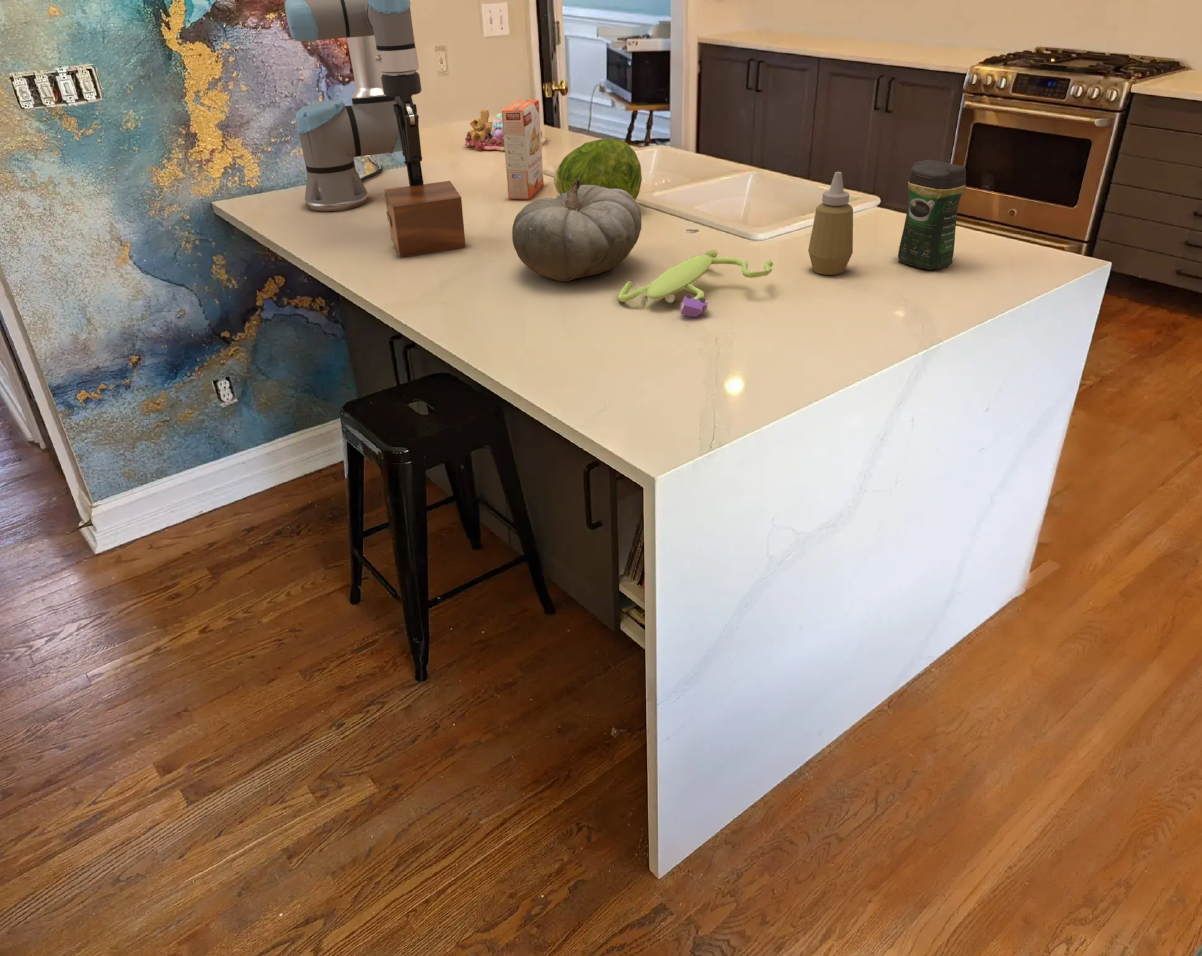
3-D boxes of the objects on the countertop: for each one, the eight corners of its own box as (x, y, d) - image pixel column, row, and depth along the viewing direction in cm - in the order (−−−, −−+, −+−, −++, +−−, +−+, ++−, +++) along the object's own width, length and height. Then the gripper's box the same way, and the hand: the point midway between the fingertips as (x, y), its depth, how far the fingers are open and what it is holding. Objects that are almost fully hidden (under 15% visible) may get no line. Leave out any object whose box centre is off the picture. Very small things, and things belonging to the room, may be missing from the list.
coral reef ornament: (455, 152, 265) (451, 119, 260) (477, 135, 285) (474, 104, 280) (536, 151, 261) (534, 118, 256) (553, 134, 281) (551, 103, 276)
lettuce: (573, 227, 218) (599, 166, 218) (634, 230, 200) (663, 164, 201) (523, 191, 207) (551, 128, 207) (583, 191, 189) (613, 121, 190)
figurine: (786, 289, 160) (788, 259, 157) (675, 329, 146) (675, 297, 143) (715, 264, 172) (715, 236, 169) (606, 299, 159) (605, 269, 156)
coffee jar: (959, 265, 167) (977, 163, 157) (931, 274, 163) (948, 170, 153) (917, 252, 174) (932, 154, 164) (889, 261, 170) (903, 161, 160)
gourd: (674, 252, 171) (657, 163, 162) (585, 310, 159) (560, 217, 149) (587, 240, 188) (566, 158, 178) (500, 291, 176) (472, 207, 166)
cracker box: (531, 200, 217) (524, 109, 205) (507, 200, 218) (499, 109, 207) (545, 185, 228) (539, 98, 217) (523, 185, 229) (515, 98, 218)
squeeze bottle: (825, 281, 163) (835, 180, 153) (797, 268, 169) (805, 171, 159) (859, 272, 166) (871, 173, 156) (831, 260, 172) (841, 164, 162)
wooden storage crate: (390, 239, 190) (382, 189, 183) (455, 229, 194) (451, 180, 187) (399, 257, 184) (392, 207, 177) (466, 247, 188) (462, 197, 181)
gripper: (375, 70, 178) (394, 189, 191) (386, 78, 168) (406, 204, 181) (411, 66, 181) (428, 184, 193) (425, 74, 170) (442, 198, 183)
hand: (417, 194), depth 187 cm, fingers closed
